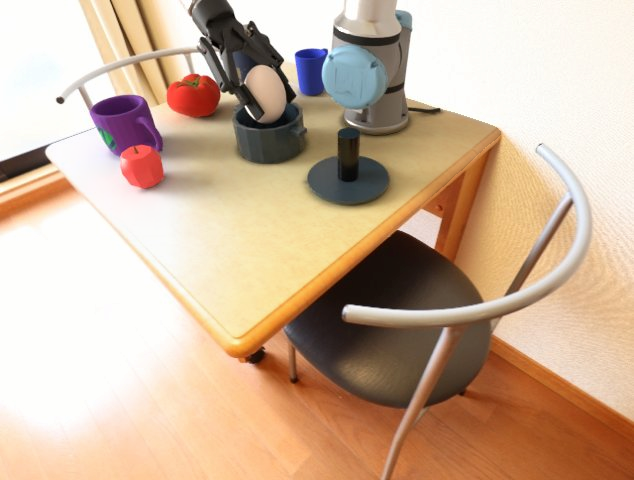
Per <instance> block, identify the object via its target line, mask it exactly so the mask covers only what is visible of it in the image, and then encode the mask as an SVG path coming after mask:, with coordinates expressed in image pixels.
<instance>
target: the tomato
mask: <svg viewBox="0 0 634 480" xmlns="http://www.w3.org/2000/svg"><path fill="white" fill-rule="evenodd" d="M220 101H221V91H220V88H219V86H218V84H217V82H216V80H215V79H214V78H212V77H211V76H209V75H206V74H203V75H200V74H199V73H190V74H188V75H185V76H184V77H182V79H180V81H179V80H177V81H173V82H171V84H170V85H169V86H168V88H167V92H166V104H167V105H168V108H170V110H172V111H173V112H175V113H176V114H180V115H184V116H188V117H192V118H193V119H195V118H200V117H208V116H210V115H212V114H213V113H214V112H215V111H216V110H217V108H218V106H219V103H220Z"/></svg>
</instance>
